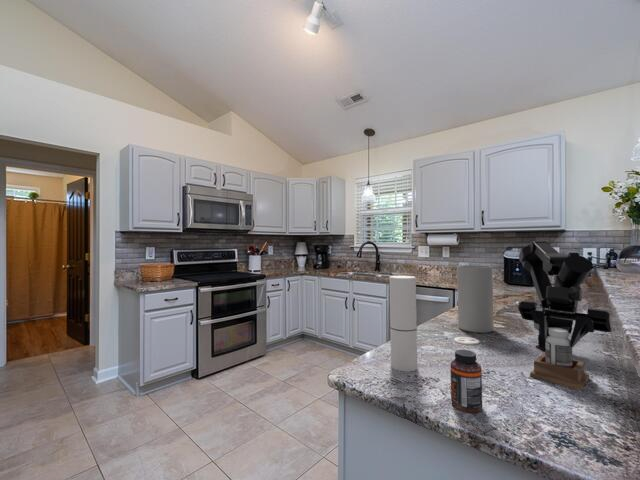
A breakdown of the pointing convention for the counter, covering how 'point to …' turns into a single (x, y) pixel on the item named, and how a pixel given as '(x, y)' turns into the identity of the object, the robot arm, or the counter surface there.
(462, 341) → the pendant
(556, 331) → the pill bottle
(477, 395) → the supplement bottle
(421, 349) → the counter surface
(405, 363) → the cylindrical container
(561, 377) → the socket block
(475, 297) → the cylinder vase
